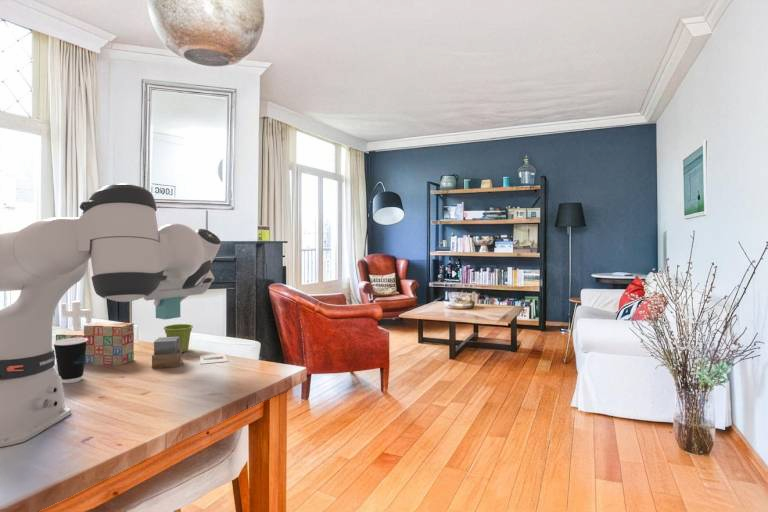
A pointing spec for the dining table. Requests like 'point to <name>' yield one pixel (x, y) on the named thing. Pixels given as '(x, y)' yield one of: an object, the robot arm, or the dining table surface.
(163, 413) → the dining table surface
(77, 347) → the dixie cup
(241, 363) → the dining table surface
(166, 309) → the teal brick
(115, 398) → the dining table surface
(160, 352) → the grey-brown block
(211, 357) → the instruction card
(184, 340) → the plant pot
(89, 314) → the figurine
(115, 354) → the stack of blocks
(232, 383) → the dining table surface
